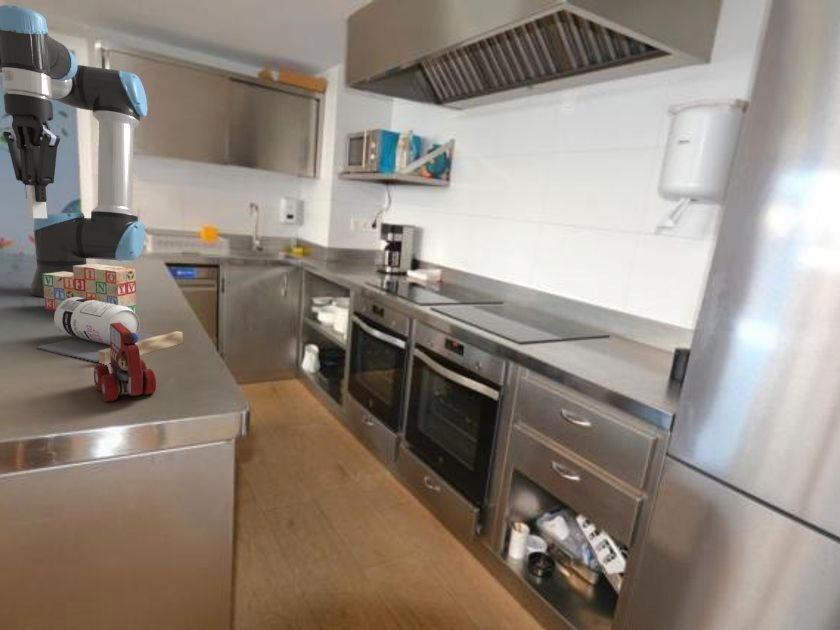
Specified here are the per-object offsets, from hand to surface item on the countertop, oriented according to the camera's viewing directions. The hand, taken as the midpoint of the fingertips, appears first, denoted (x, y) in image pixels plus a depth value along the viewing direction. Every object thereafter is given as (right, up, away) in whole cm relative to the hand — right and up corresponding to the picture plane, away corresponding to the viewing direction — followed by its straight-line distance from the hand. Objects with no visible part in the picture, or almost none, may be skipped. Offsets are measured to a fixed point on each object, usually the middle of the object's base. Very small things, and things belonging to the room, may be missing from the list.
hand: (37, 217), depth 101 cm
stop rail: (+24, -28, -4) cm, 37 cm away
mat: (+16, -26, -1) cm, 31 cm away
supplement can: (+6, -20, +2) cm, 21 cm away
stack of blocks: (-4, -20, +23) cm, 31 cm away
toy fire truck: (+32, -33, -23) cm, 51 cm away
